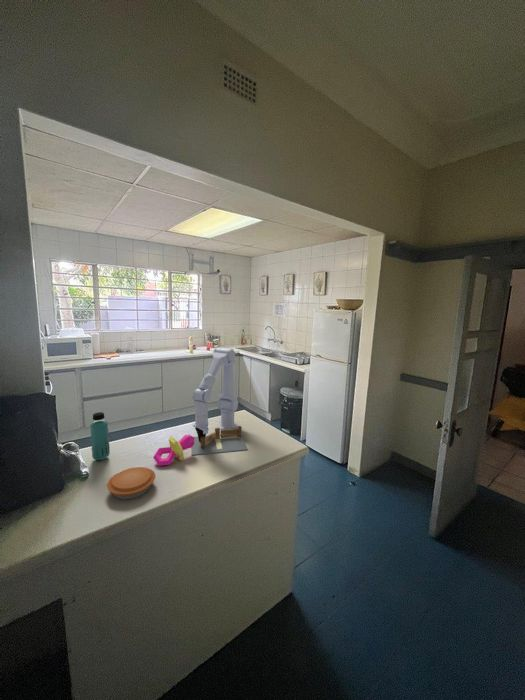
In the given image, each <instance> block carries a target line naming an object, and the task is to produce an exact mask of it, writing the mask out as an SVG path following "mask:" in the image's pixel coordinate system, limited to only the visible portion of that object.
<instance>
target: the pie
mask: <svg viewBox="0 0 525 700" xmlns="http://www.w3.org/2000/svg"><path fill="white" fill-rule="evenodd" d="M155 479H156V473H155V471H154V470H152V469H151V468H148V467H143V466H140V467H139V466H138V467H137V466H136V467H130V468H126V469H123V470H122V471H120V472H117V473H115V474H113V475H112V476H111V477H110V478H109V480H108V481H107V483H106V487H107V490H108V491H109V493H111V494H113V495H114V496H115V497H116V498H118V499H120V500H131V499H136V498H139V497H141V496H143V495H144V494H145V493H146V492H147V491H149V488H150V487H151V485H153V483H154V482H155Z"/></svg>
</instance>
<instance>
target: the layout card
mask: <svg viewBox="0 0 525 700" xmlns="http://www.w3.org/2000/svg"><path fill="white" fill-rule="evenodd" d="M206 436H207V435H206ZM206 436H205V437H206ZM193 437H194V445H193V447H191V448H190V449H191V456H200V455H213V454H221V453H230V452H232V453H233V452H241V451H242V452H243V451H248V450H249V449H248V446H247V443H246V441H245V440H244V437H243V434H242V433H241V437H238V436H233V437H222V438H221V437H220V438H219V439H215V440H214V441H212V442H211V443H209V444H208V445H206V446H205V447H204V448H201V443H200V442H199V439H198V436H193Z"/></svg>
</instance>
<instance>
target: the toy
mask: <svg viewBox="0 0 525 700" xmlns="http://www.w3.org/2000/svg"><path fill="white" fill-rule="evenodd" d="M194 437H195V436H193V435H191V434H184V436H183V437H182V438H180V440H179V441H178V440H176V439H175V438H174V437H173V436H169V438H168V442H169V443H168V444H169V446H168V447H167V446H166V447H159V448H157V450H156V452H155V453H154V455H153V457H152V458H153V460H154V461H155V462H156V464H157V466H159V467H160V466H168V465H171V463H172V462H173V460H174V458H175V457H176V458H177V459H178V460H179V461H180V462H182V461H185V455H184V451H185V450H187V449H188V450H189V449H191V447H193V445H194ZM166 454H167V456H166V457H165V458H162V456H163V455H166Z"/></svg>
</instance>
